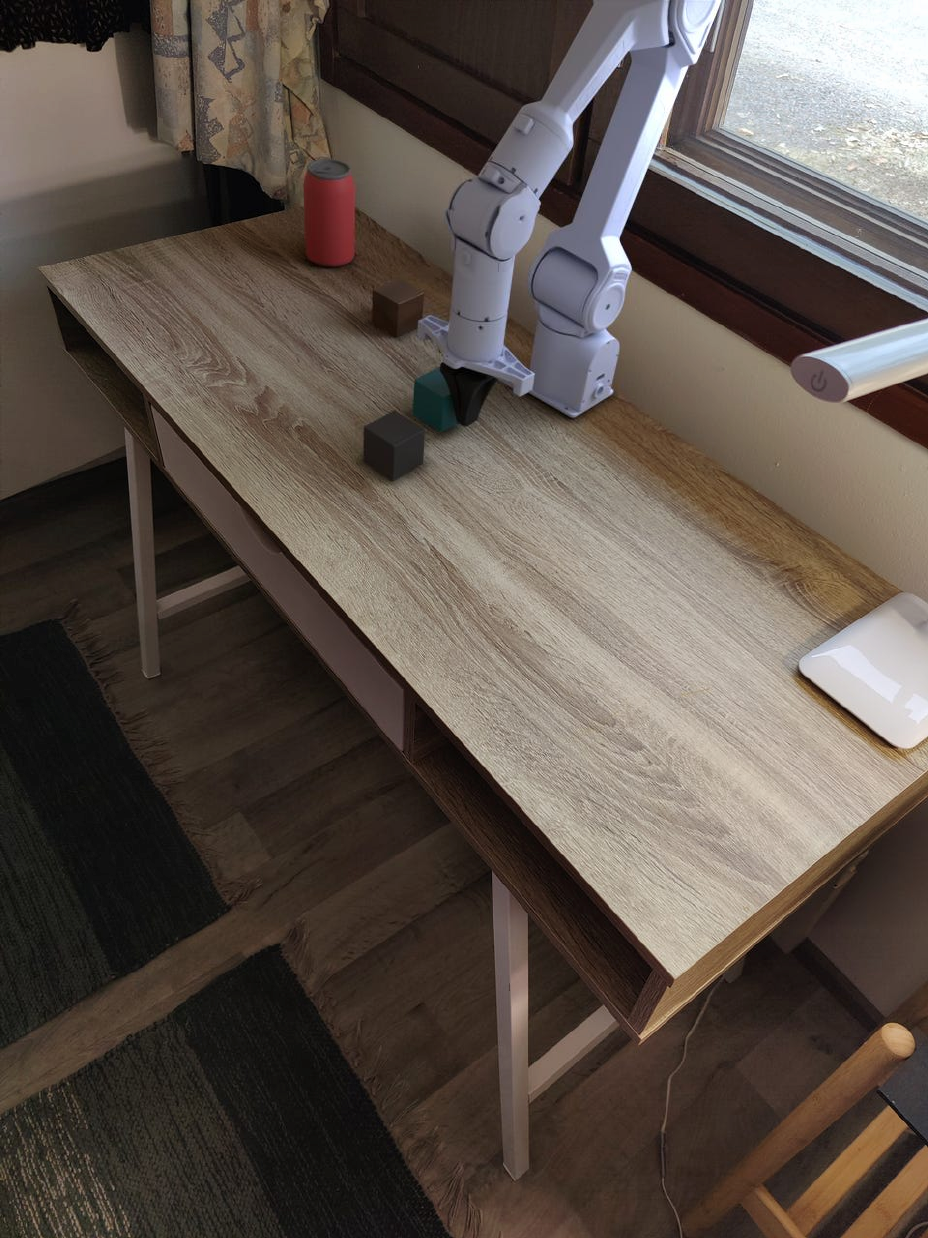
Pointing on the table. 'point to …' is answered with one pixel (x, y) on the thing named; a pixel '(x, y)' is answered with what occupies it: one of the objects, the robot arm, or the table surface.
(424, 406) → the teal block
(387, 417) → the charcoal block
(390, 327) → the walnut block
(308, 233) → the beer can
